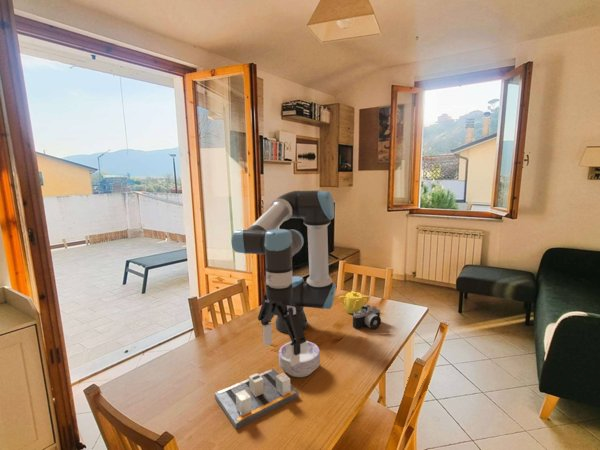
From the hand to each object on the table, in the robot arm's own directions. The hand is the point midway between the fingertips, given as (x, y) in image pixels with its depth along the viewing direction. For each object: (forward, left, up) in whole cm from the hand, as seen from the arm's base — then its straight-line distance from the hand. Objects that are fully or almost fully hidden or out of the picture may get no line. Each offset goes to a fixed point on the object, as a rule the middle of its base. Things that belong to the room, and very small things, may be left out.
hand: (280, 353), depth 94 cm
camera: (-22, +62, -20) cm, 69 cm away
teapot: (-38, +70, -20) cm, 82 cm away
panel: (-11, -3, -20) cm, 22 cm away
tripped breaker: (-11, -3, -17) cm, 21 cm away
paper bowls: (-15, +17, -20) cm, 30 cm away
